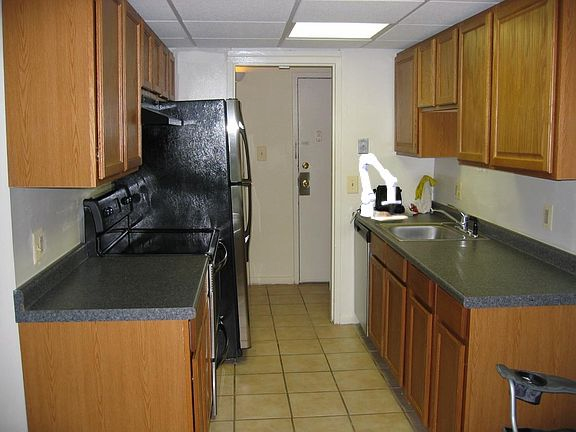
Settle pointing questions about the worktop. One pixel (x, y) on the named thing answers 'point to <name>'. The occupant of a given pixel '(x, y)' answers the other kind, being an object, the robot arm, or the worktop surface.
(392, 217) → the gauge board
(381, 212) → the carriage
